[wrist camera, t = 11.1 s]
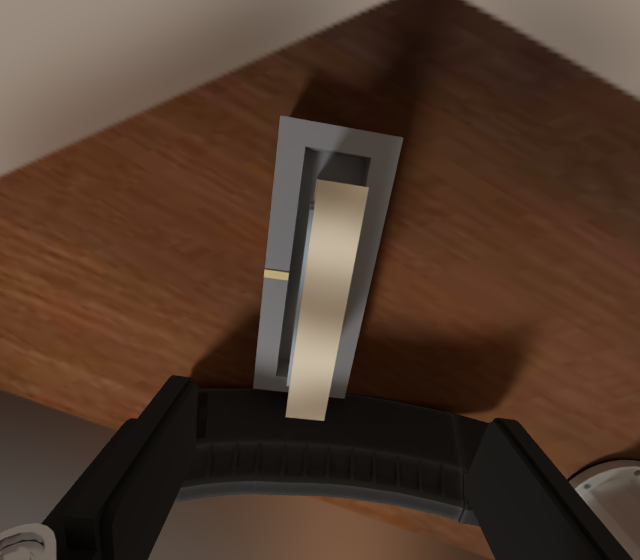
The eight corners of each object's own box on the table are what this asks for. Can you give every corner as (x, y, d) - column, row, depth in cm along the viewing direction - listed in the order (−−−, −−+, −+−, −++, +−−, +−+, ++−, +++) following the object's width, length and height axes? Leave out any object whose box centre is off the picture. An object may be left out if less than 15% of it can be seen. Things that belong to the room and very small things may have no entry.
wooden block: (320, 343, 27) (324, 420, 18) (292, 340, 27) (282, 416, 18) (347, 183, 22) (369, 187, 14) (313, 178, 22) (313, 178, 14)
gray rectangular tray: (341, 373, 29) (344, 399, 26) (259, 363, 29) (252, 389, 25) (390, 143, 22) (404, 137, 19) (285, 124, 22) (280, 115, 18)
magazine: (101, 490, 21) (572, 702, 15) (96, 456, 20) (600, 669, 14) (230, 362, 37) (486, 439, 31) (231, 340, 36) (496, 414, 30)
